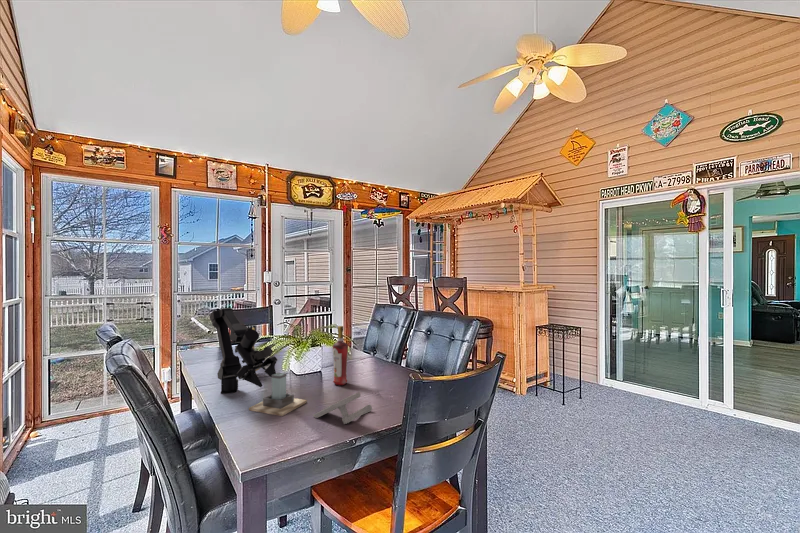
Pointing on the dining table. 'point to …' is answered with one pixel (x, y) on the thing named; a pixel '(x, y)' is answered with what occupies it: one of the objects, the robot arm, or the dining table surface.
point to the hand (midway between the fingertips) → (269, 383)
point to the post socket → (278, 405)
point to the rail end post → (278, 386)
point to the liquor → (340, 359)
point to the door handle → (342, 408)
